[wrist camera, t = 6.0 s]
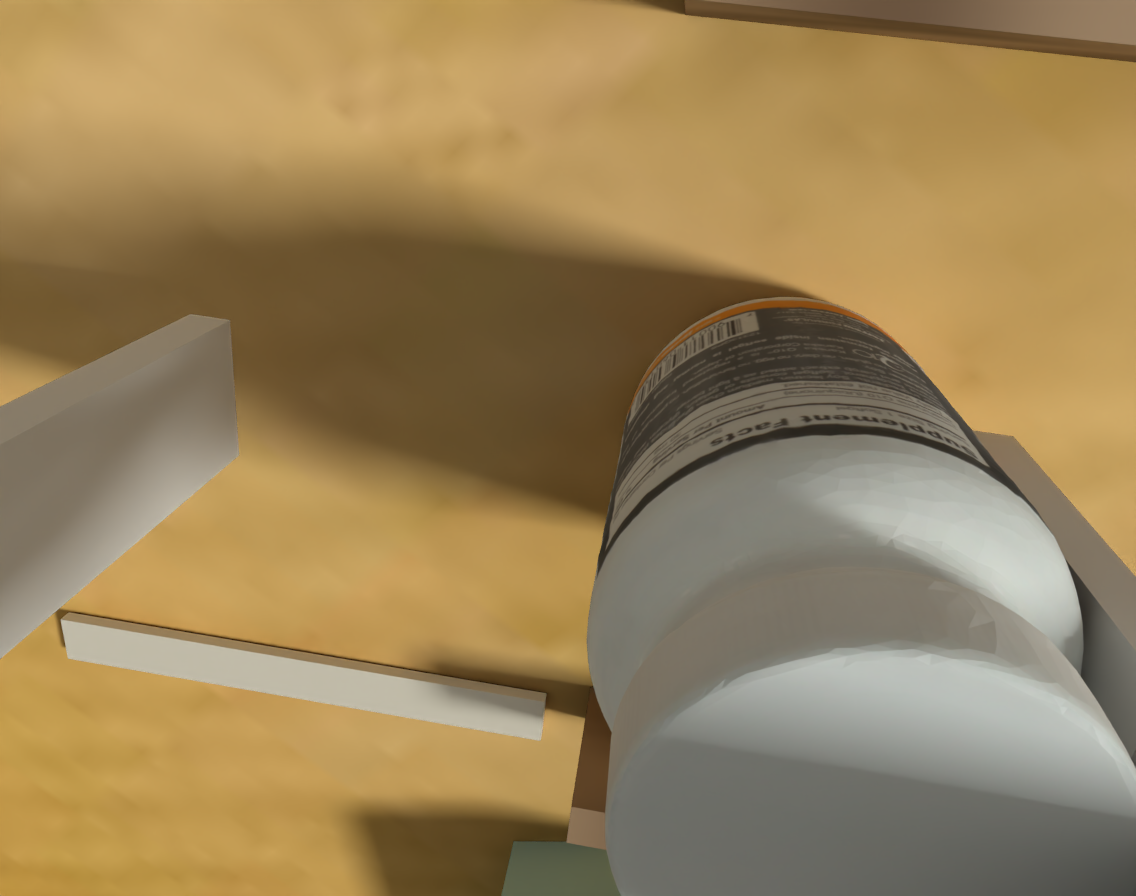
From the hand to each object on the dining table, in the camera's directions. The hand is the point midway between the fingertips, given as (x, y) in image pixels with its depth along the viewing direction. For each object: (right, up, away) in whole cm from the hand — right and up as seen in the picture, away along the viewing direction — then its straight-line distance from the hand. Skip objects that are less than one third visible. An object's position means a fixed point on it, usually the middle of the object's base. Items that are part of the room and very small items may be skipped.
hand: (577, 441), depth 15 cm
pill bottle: (+4, 0, +1) cm, 4 cm away
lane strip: (-7, -6, +5) cm, 10 cm away
